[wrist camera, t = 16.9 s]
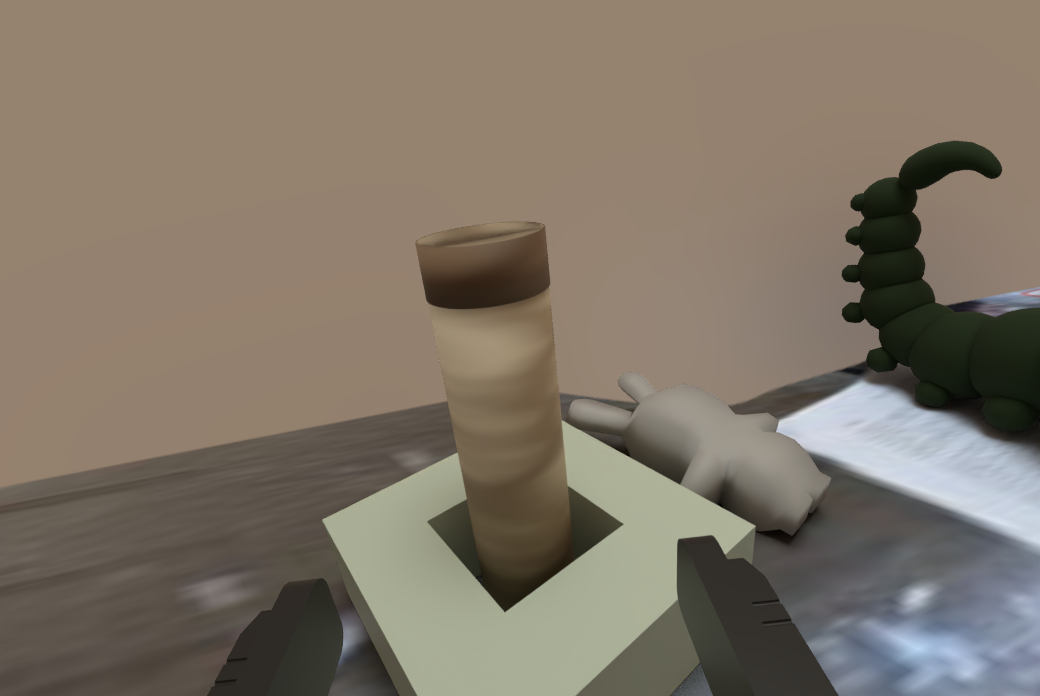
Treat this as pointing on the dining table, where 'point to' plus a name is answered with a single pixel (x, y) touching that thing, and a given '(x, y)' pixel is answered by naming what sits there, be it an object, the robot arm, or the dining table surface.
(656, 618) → the socket block
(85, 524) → the dining table surface
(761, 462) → the bunny figurine
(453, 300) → the peg
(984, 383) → the toy figurine
